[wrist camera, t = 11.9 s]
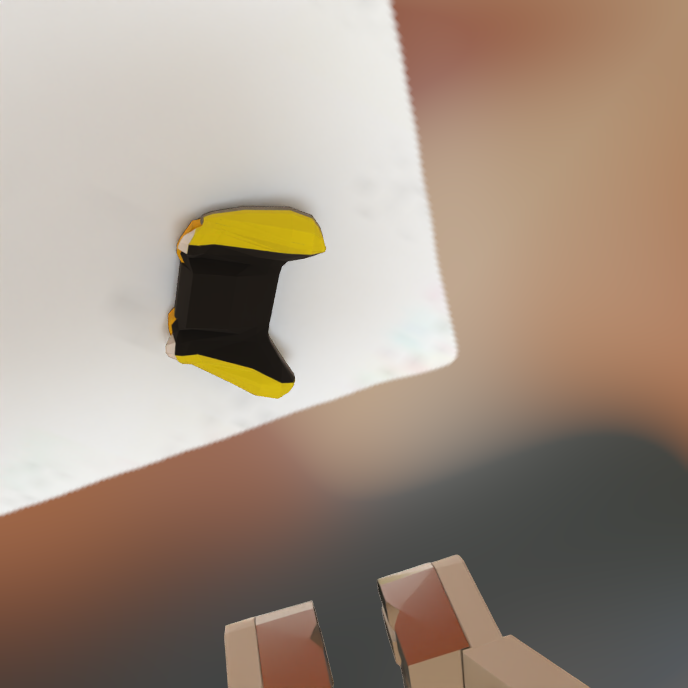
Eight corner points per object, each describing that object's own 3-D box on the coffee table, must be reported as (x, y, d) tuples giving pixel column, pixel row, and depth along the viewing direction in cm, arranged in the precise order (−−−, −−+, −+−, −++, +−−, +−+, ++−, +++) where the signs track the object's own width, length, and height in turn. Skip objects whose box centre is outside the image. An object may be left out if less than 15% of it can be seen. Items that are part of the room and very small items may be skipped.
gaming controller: (319, 203, 46) (183, 179, 42) (336, 227, 41) (184, 202, 38) (282, 372, 52) (161, 362, 49) (292, 409, 48) (160, 401, 44)
